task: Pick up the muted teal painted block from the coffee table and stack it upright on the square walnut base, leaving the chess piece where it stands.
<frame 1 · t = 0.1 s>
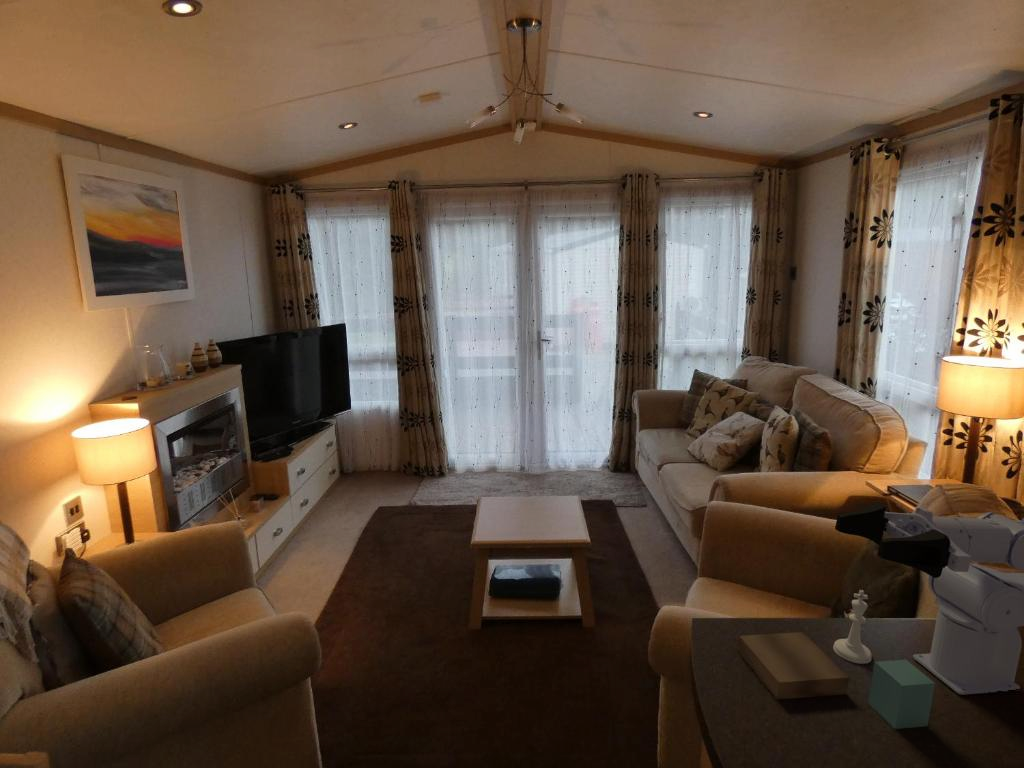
hand: (858, 535, 76), 22 cm above the table, tool horizontal, fingers open, 7 cm apart
teal block: (896, 714, 75), on the table
walnut base: (789, 671, 82), on the table
chess piece: (851, 654, 87), on the table
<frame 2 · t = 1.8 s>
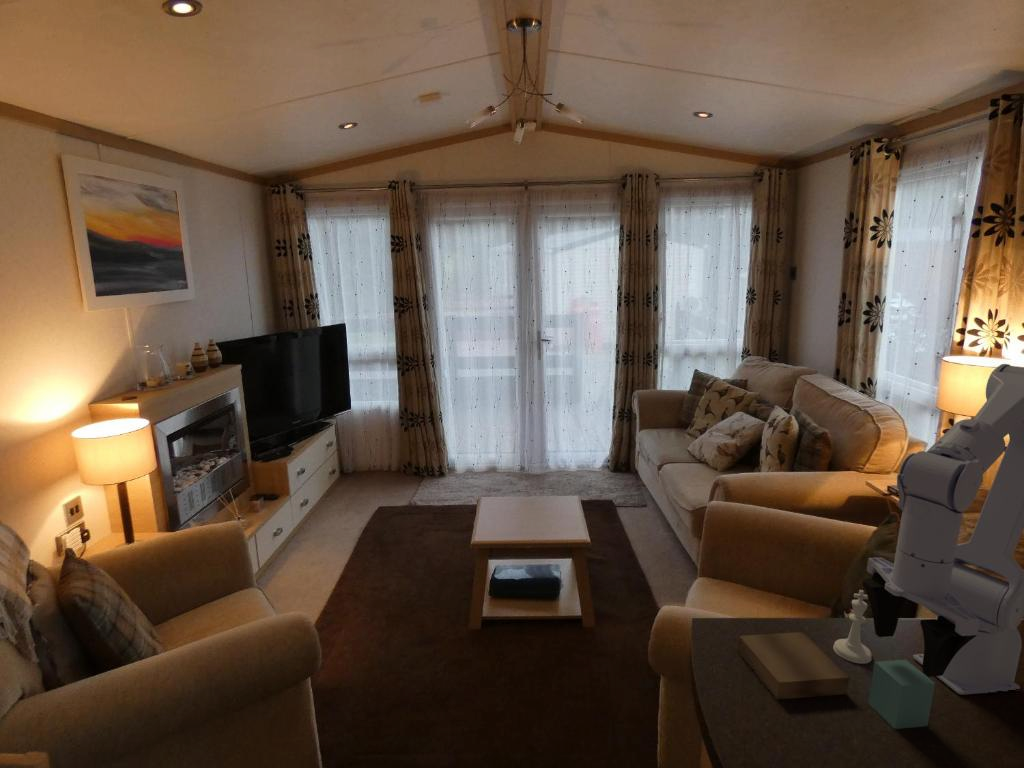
hand: (907, 653, 73), 9 cm above the table, tool pointing down, fingers open, 7 cm apart
nothing on the table moved.
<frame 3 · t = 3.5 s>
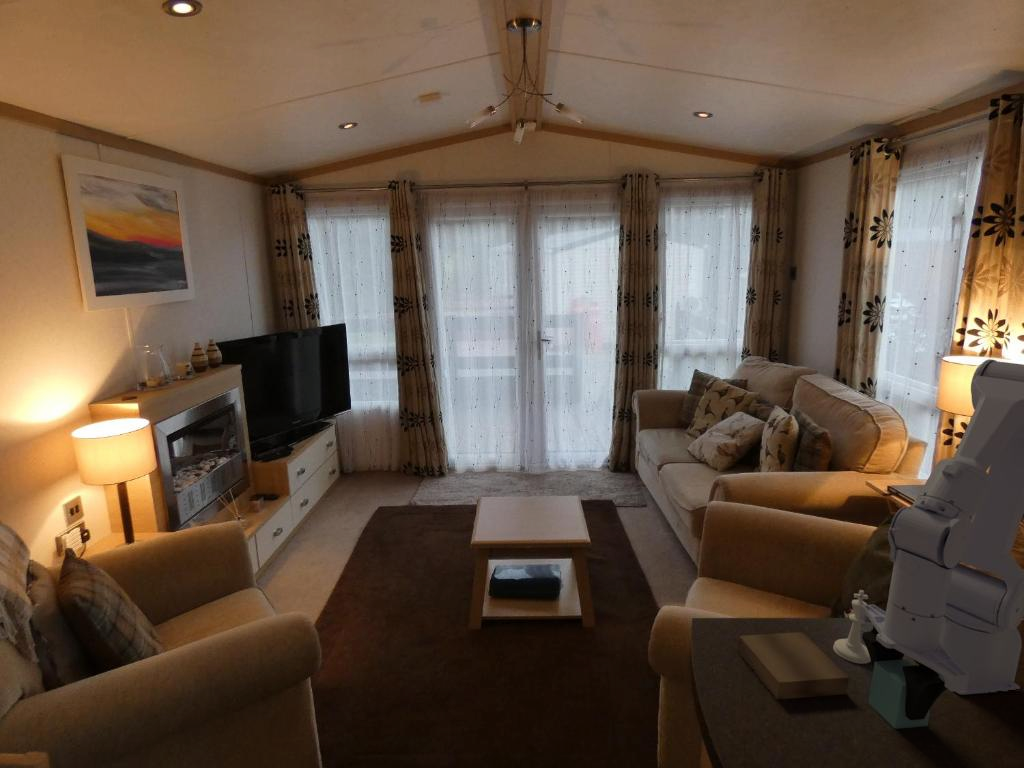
hand: (898, 702, 75), 2 cm above the table, tool pointing down, fingers closed on teal block, 4 cm apart
teal block: (896, 714, 75), on the table, touching gripper
everything else where it was.
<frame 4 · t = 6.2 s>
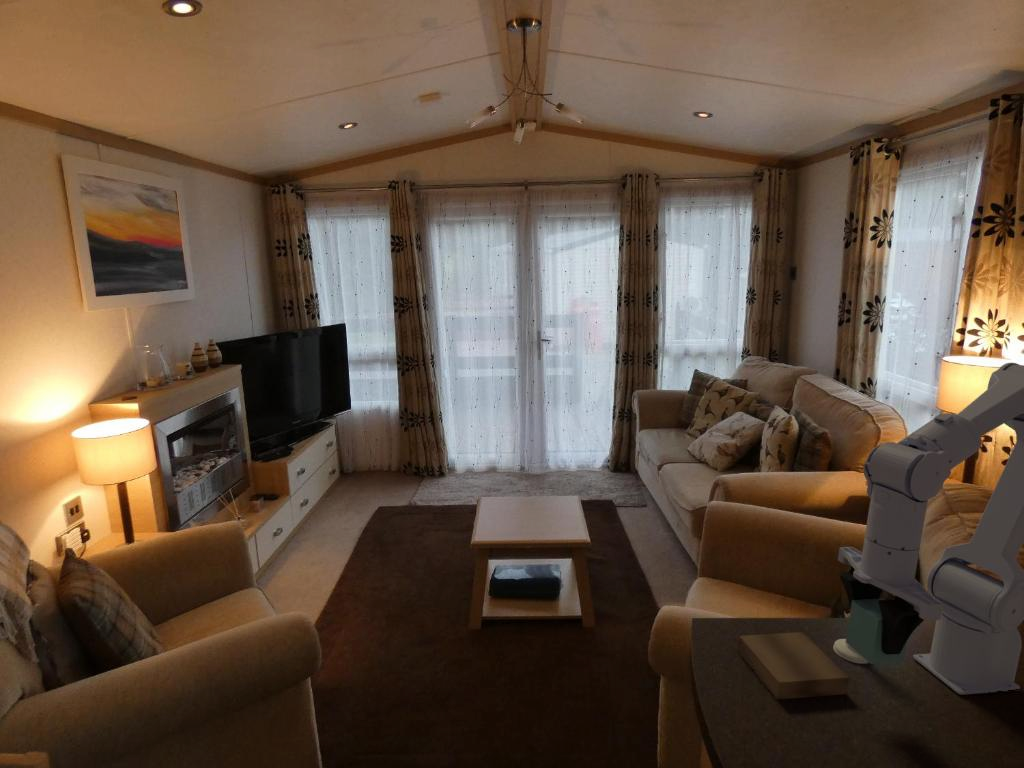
hand: (875, 639, 75), 9 cm above the table, tool pointing down, fingers closed on teal block, 4 cm apart
teal block: (873, 651, 76), point 7 cm above the table, touching gripper
everything else where it was.
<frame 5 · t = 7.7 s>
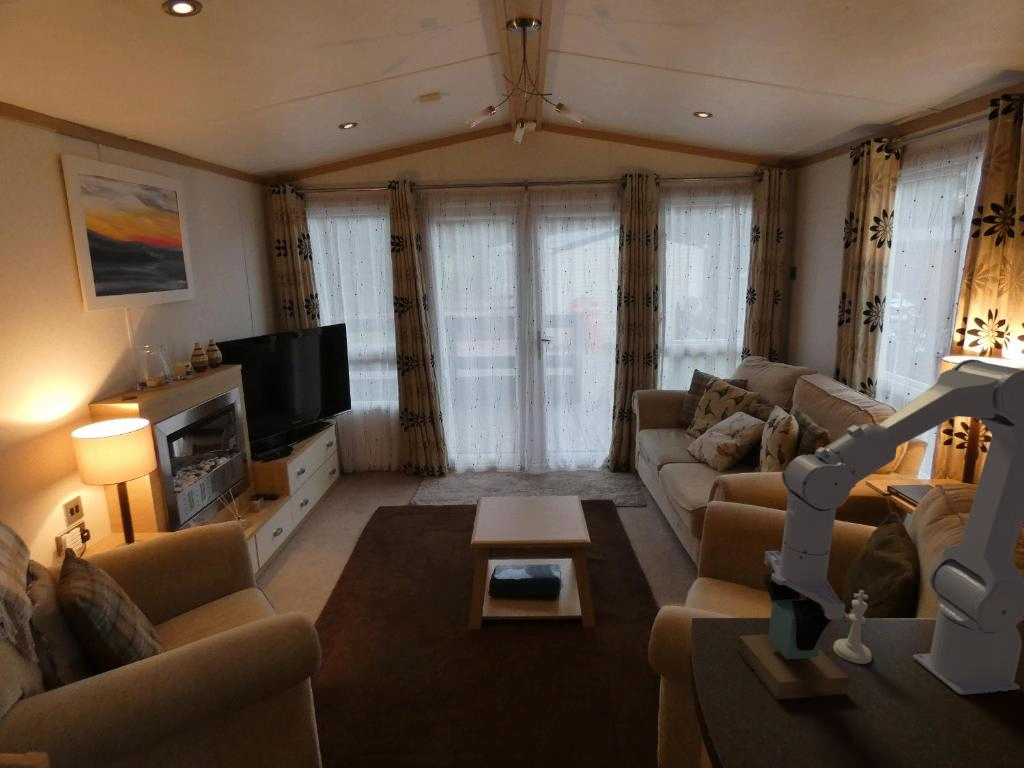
hand: (793, 637, 81), 5 cm above the table, tool pointing down, fingers closed on teal block, 4 cm apart
teal block: (792, 647, 82), point 4 cm above the table, touching gripper
everything else where it was.
when the fingers open (5 cm above the table, at t = 8.9 s): teal block stays where it is, resting on walnut base.
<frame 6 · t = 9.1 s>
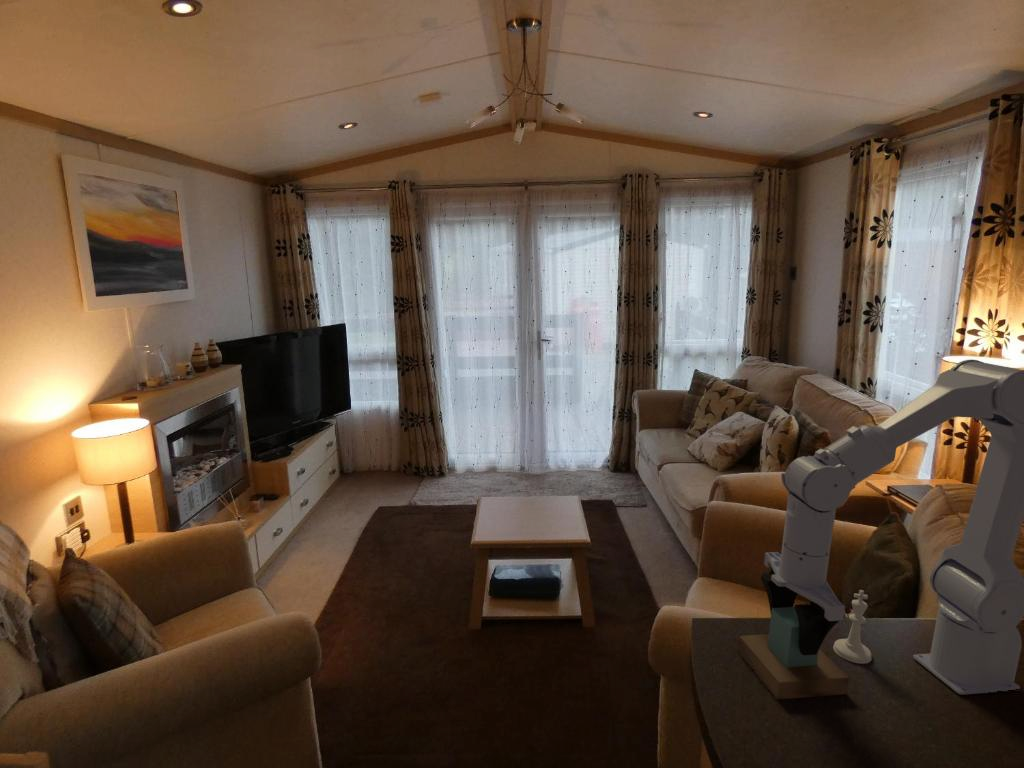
hand: (793, 638, 81), 5 cm above the table, tool pointing down, fingers open, 6 cm apart
teal block: (791, 655, 82), point 2 cm above the table, touching walnut base
everything else where it was.
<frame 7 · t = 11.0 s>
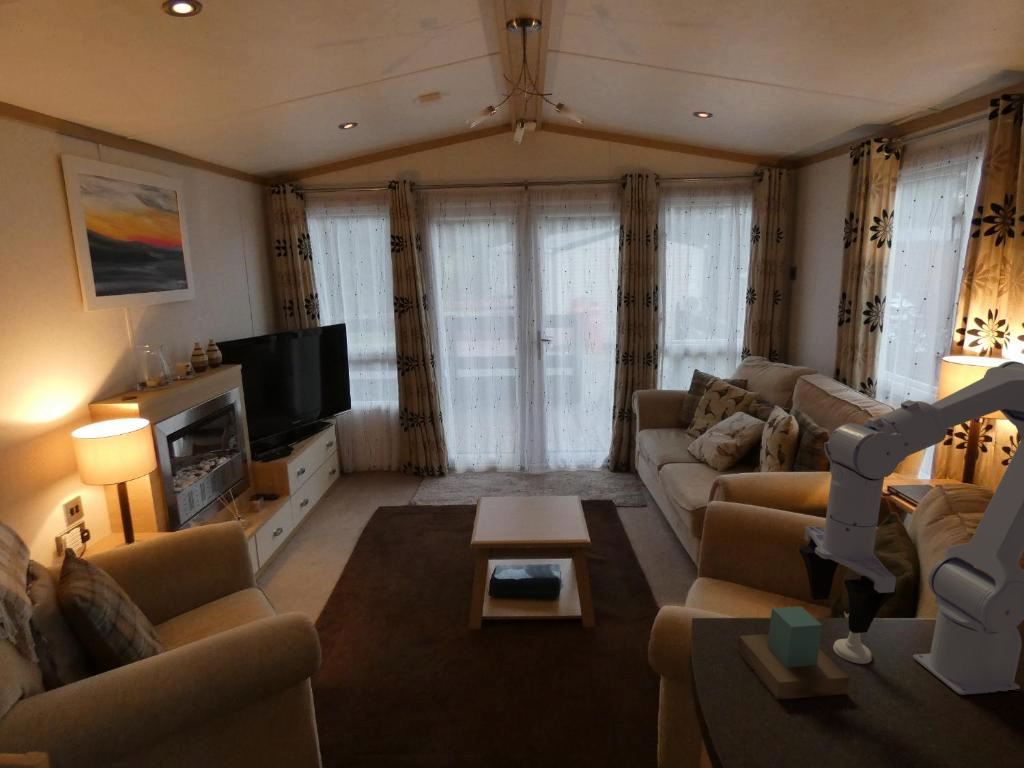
hand: (837, 614, 78), 10 cm above the table, tool pointing down, fingers open, 7 cm apart
nothing on the table moved.
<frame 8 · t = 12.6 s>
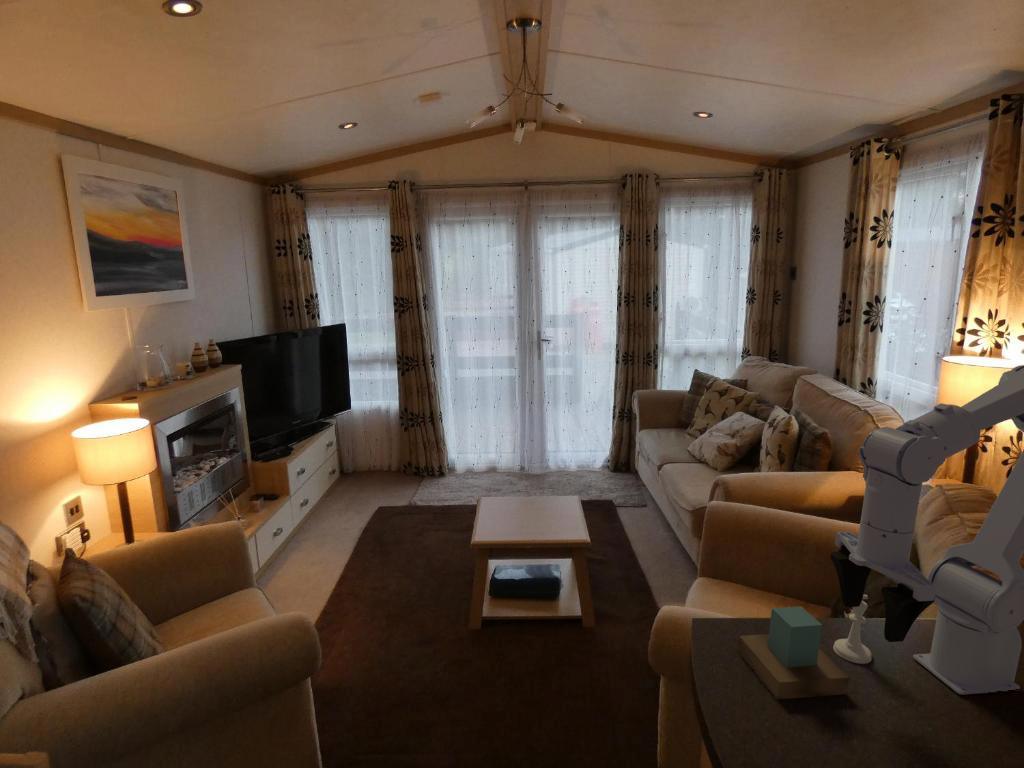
hand: (871, 622, 77), 10 cm above the table, tool pointing down, fingers open, 7 cm apart
nothing on the table moved.
at the end: teal block 0.0 cm from the walnut base (horizontally); teal block point 2.5 cm above the table; teal block tilted 0° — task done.
